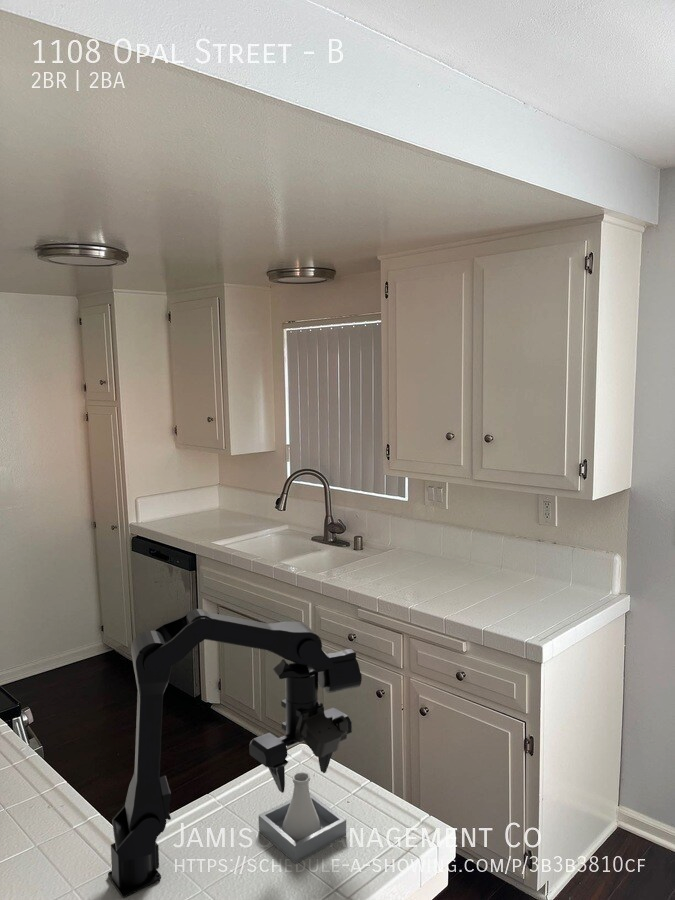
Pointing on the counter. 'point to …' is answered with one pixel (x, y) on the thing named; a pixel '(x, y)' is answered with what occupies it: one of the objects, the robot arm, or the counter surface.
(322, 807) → the box
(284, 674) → the robot arm
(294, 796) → the flask
